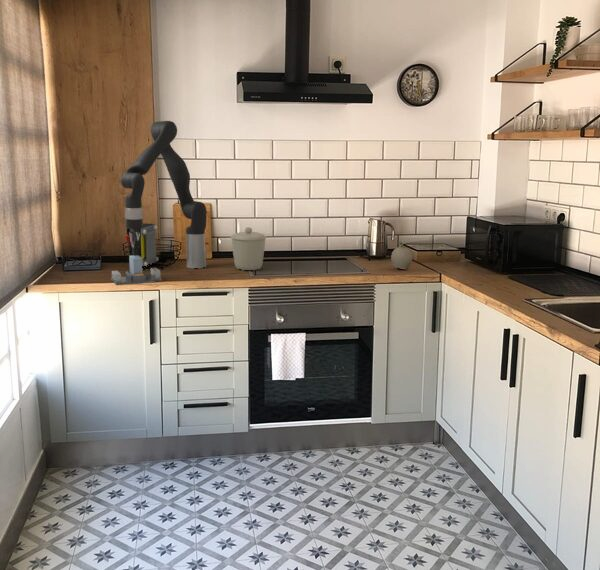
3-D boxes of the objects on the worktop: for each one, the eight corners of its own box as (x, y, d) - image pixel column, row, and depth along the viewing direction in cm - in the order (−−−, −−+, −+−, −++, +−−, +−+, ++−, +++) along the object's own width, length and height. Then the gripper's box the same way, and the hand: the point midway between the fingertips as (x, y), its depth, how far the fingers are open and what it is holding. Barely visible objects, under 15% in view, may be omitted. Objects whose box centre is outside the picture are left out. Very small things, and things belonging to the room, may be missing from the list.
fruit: (405, 266, 365) (407, 238, 361) (414, 271, 354) (416, 241, 350) (386, 267, 362) (388, 238, 359) (395, 271, 351) (396, 242, 348)
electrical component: (145, 268, 349) (144, 228, 345) (126, 267, 351) (125, 227, 347) (159, 262, 366) (158, 224, 362) (141, 261, 368) (140, 223, 363)
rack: (110, 279, 323) (110, 270, 322) (155, 276, 333) (155, 266, 332) (116, 285, 313) (115, 275, 312) (162, 281, 322) (162, 271, 321)
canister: (231, 265, 360) (230, 224, 356) (266, 265, 362) (266, 224, 357) (229, 272, 343) (229, 229, 338) (266, 272, 344) (266, 230, 339)
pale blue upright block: (130, 276, 325) (129, 255, 323) (138, 276, 327) (137, 255, 325) (134, 280, 318) (133, 258, 316) (142, 279, 320) (142, 258, 318)
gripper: (146, 219, 312) (147, 257, 316) (138, 215, 324) (140, 252, 328) (129, 219, 309) (130, 258, 313) (122, 216, 320) (124, 253, 324)
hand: (135, 255), depth 320 cm, fingers closed
